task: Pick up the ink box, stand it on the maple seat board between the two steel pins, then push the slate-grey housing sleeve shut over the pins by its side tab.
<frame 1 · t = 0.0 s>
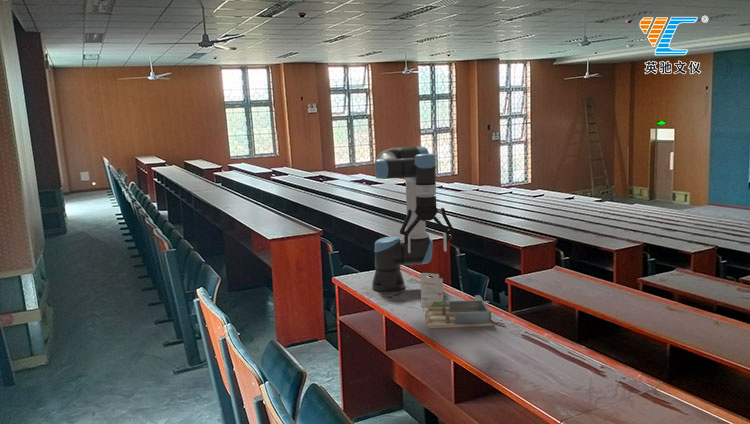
hand: (427, 251, 220), 28 cm above the table, fingers open, 13 cm apart
ink box: (432, 306, 244), on the table
housing: (468, 308, 229), point 3 cm above the table, slide at 8.0 cm
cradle: (445, 320, 226), on the table
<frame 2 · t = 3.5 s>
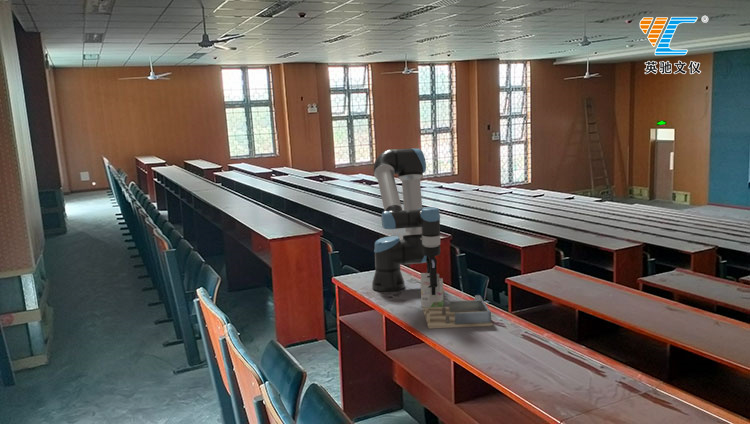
hand: (432, 299, 243), 3 cm above the table, fingers closed on ink box, 7 cm apart
ink box: (432, 306, 244), on the table, touching gripper
everything else where it was.
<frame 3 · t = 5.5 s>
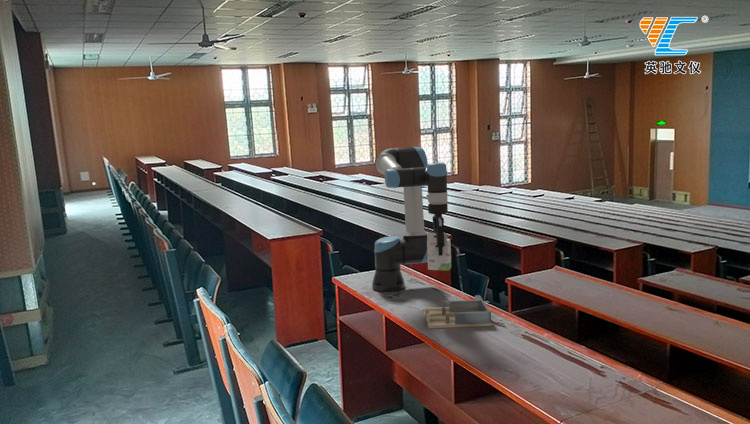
hand: (439, 261, 229), 22 cm above the table, fingers closed on ink box, 6 cm apart
ink box: (439, 269, 230), point 19 cm above the table, touching gripper
everything else where it was.
when the fingers open (6 cm above the table, at t = 8.1 s): ink box drops 1 cm, resting on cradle.
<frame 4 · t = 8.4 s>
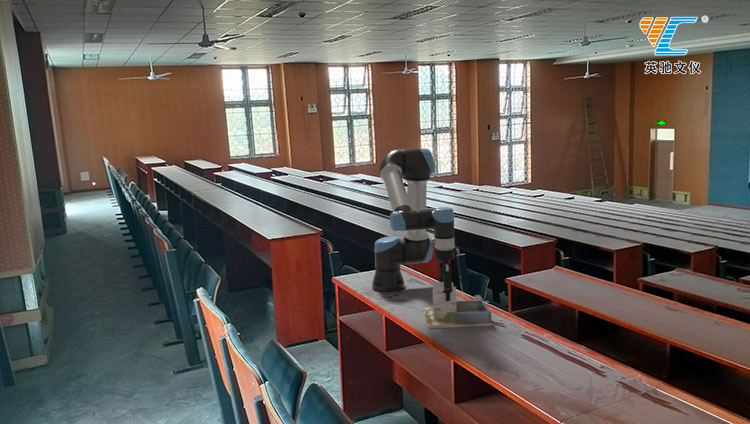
hand: (445, 303, 225), 7 cm above the table, fingers open, 11 cm apart
ink box: (445, 317, 228), point 1 cm above the table, touching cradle
everything else where it was.
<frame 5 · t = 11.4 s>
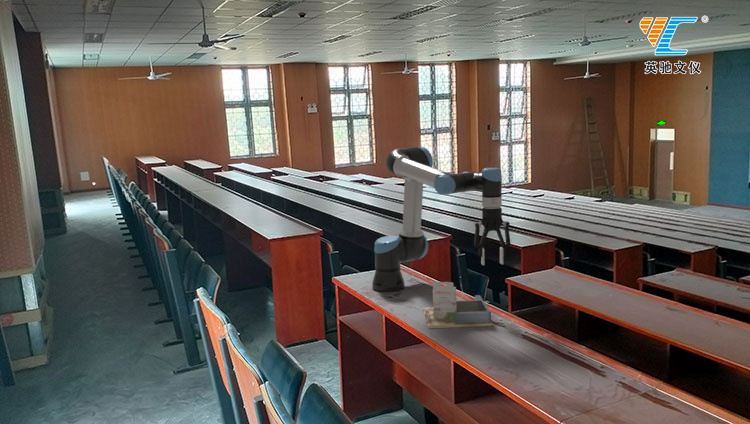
hand: (492, 263, 234), 19 cm above the table, fingers open, 7 cm apart
nothing on the table moved.
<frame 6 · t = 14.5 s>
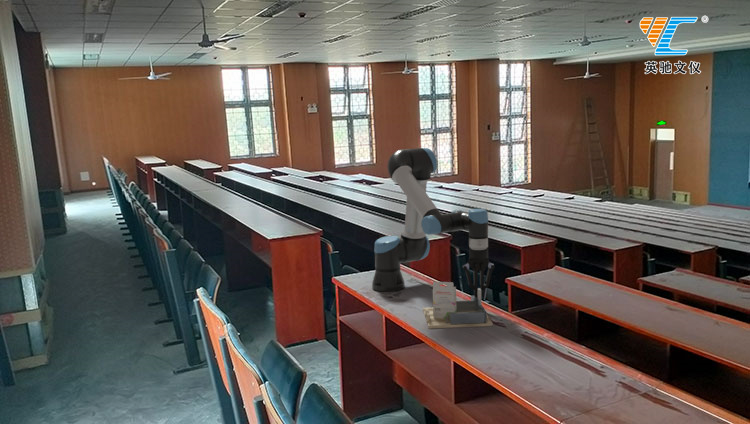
hand: (478, 304, 237), 2 cm above the table, fingers closed
housing: (463, 309, 229), point 3 cm above the table, slide at 6.3 cm, touching gripper
everything else where it was.
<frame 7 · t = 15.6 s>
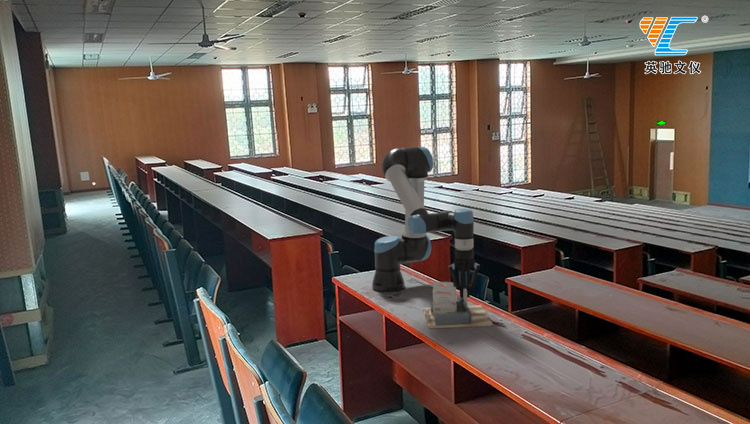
hand: (464, 305, 236), 2 cm above the table, fingers closed
housing: (449, 309, 229), point 3 cm above the table, slide at 0.6 cm, touching gripper
everything else where it was.
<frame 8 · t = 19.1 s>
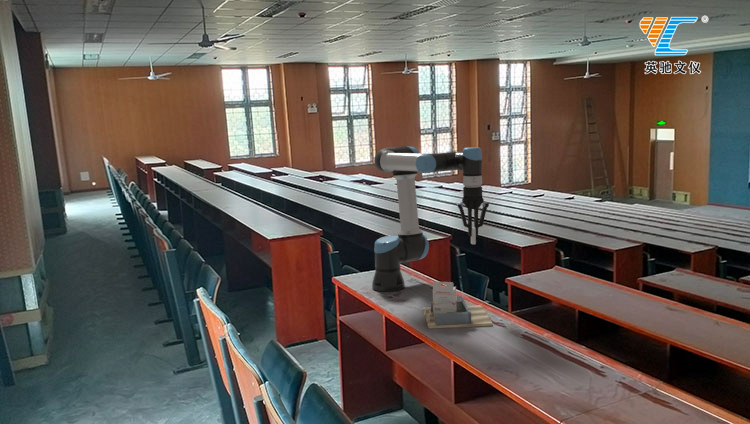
hand: (473, 243, 238), 26 cm above the table, fingers closed
housing: (449, 309, 229), point 3 cm above the table, slide at 0.5 cm
everything else where it was.
at the end: ink box inside the target area on the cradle (1.6 cm from its centre), point 0.8 cm above the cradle's base; ink box tilted 0°; housing slide at 0.5 cm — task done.
